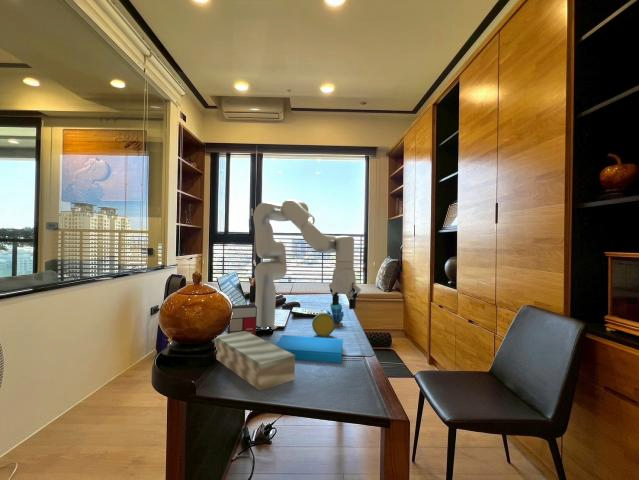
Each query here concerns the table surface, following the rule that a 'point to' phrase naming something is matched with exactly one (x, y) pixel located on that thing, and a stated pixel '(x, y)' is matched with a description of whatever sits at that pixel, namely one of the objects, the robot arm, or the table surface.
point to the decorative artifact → (323, 324)
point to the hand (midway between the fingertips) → (343, 306)
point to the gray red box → (243, 319)
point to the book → (312, 348)
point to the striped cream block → (255, 359)
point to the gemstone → (336, 314)
